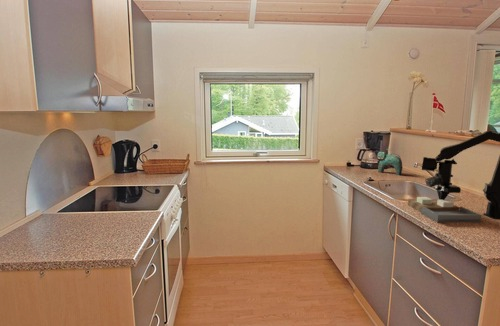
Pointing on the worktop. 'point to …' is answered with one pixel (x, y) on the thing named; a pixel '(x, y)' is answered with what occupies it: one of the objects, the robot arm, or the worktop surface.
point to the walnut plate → (429, 206)
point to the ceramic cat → (389, 162)
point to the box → (452, 215)
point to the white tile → (445, 203)
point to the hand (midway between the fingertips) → (441, 202)
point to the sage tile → (424, 200)
